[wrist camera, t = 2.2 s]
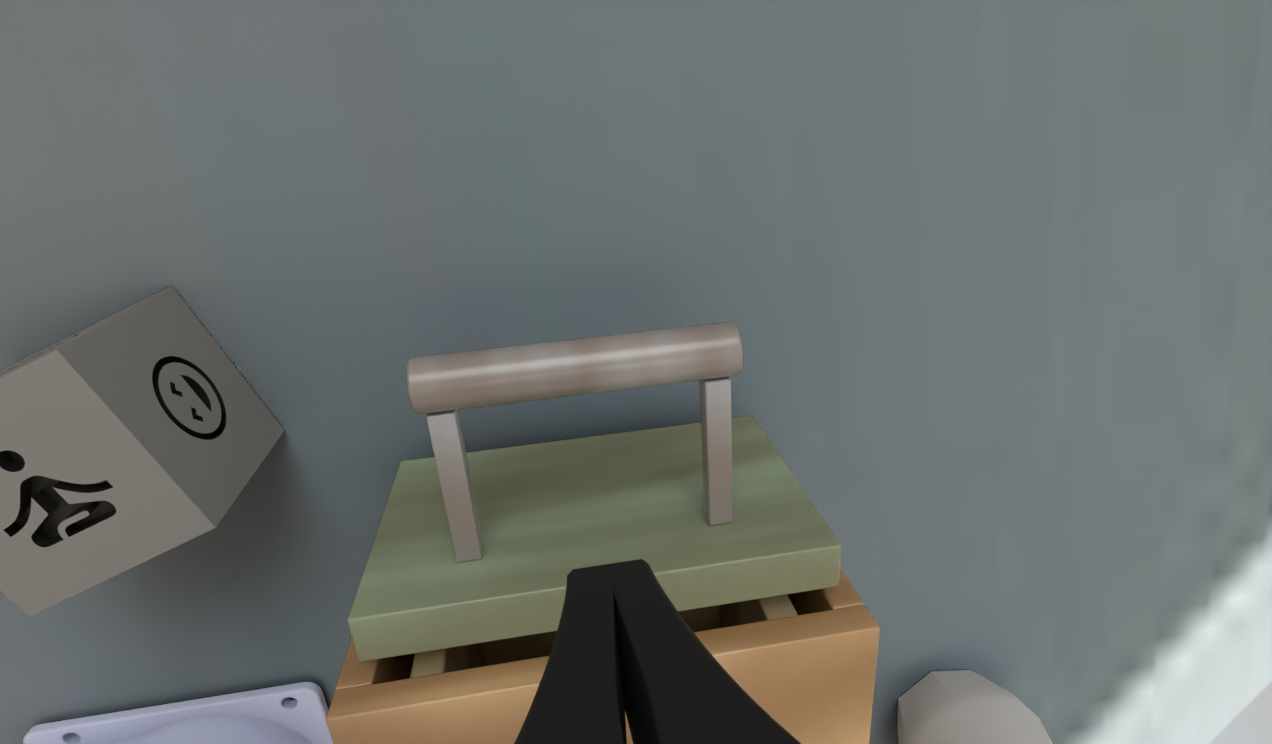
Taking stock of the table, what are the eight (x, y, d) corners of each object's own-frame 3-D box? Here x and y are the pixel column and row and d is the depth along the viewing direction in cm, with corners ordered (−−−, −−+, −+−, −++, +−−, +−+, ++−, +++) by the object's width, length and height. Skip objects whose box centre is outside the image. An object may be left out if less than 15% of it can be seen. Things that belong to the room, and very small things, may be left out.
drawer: (363, 300, 19) (281, 405, 12) (752, 260, 20) (855, 338, 14) (467, 753, 26) (448, 968, 19) (752, 703, 27) (821, 890, 20)
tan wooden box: (396, 494, 22) (324, 720, 14) (761, 445, 23) (881, 627, 16) (465, 785, 27) (440, 1066, 20) (760, 732, 29) (848, 976, 21)
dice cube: (138, 501, 21) (29, 616, 16) (11, 365, 19) (-154, 453, 14) (284, 430, 21) (215, 528, 16) (171, 285, 19) (56, 349, 14)
